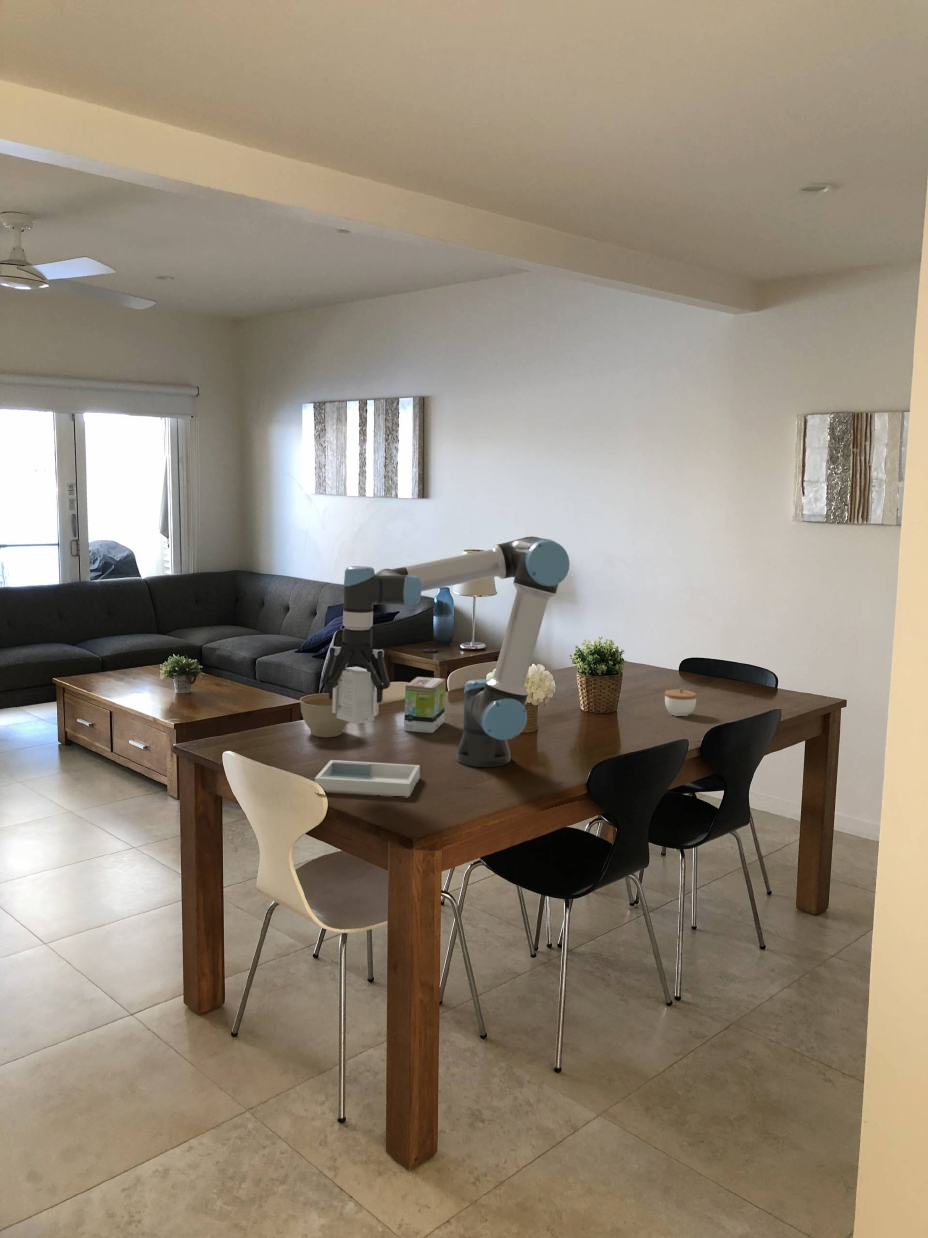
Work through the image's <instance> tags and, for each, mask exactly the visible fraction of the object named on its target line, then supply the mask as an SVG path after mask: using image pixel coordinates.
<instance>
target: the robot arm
mask: <svg viewBox="0 0 928 1238" xmlns="http://www.w3.org/2000/svg"><path fill="white" fill-rule="evenodd" d="M570 566H571V565H570V557H569V554H568V553H567V551H566V549H565V548H564V546H563V545H561V544H560V543H559V542H556V541H554V540H553V539H550V538H543V537H537V536H525V537H521V538H518V539H517V538H516V539H514V540H510V541H506V542H502V543H498V544H494V545H493V547H492V548H491V549H487V550H481V551H478V552H471V553H466V554H461V555H456V556H452V557H451V556H450V557H447V558H441V559H437V560H432V561H431V560H430V561H427V562H422V563H416V564H411V565H405V566H403V567H396V568H382V569H379V570H378V571H377V572H376V573H375V569H374V567H372V566H365V565H353V566H348V567H346V569H345V570H344V578H343V580H344V581H343V609H342V610H343V611H342V612H343V613H342V614H343V615H342V626H343V629H342V643H341V646H335V645H333V646H331V647H329V658H328V661H327V665H326V668H325V670H324V674H323V677H322V680H321V683H322V685H326V686H328V693H329V699H333V703H332V713H336V712H337V684H338V678H339V677H340V675H341V673H342V671H343V670H344V669H345V668H348V665H352V664H353V665H355V664H357V665H360V666H361V665H363V667H364V669H367V671H368V672H370V673H371V679H372V681H373V683H374V685H375V690H374V698H373V716H374V717H377V716H378V715H379V704H381V703H382V702H383V699H384V698H383V695H384V690H387V689H388V688H390V687H391V682H390V677H389V673H388V671H387V670H388V669H387V666H386V662H385V650H384V649H383V648H381V649H375V648H374V647H373V629H372V627H373V626H374V625H373V623H374V605H395V606H397V605H398V606H401V605H403V606H410V605H412V606H413V605H417V604H419V602H420V601H421V596H422V592H426V591H431V590H437V589H442V588H446V587H450V586H451V587H452V586H455V585H462V584H465V583H469V582H470V583H471V582H475V581H481V580H485V579H486V580H487V579H490V578H495V577H498V578H499V579H500V580H504V579H511V578H514V579H513V582H512V583H513V584H512V585H513V586H514V587H515V590H516V592H515V597H514V601H513V604H512V608H511V612H510V615H509V619H508V623H507V626H506V629H505V633H504V637H503V641H502V645H501V649H500V652H499V655H498V659H497V662H496V666H495V670H494V674H493V676H492V678H490V679H489V678H485V679H483V678H482V679H471V680H468V681H466V682H465V684H464V690H463V693H464V699H463V732H462V736H461V739H460V742H459V744H458V747H457V751H456V760H457V762H458V763H460V764H463V765H466V766H469V767H475V768H476V767H479V768H495V767H502V766H505V765H508V764H509V763H510V762H511V750H510V748H509V744H508V740H512V739H513V738H516V737H517V736H519V735H520V734H521V733H522V731H524V729H525V727H526V725H527V722H528V713H527V710H526V703H527V698H528V695H529V693H528V690H527V689H526V686H525V684H526V681H527V679H528V674H529V670H530V667H531V663H532V660H533V656H534V652H535V648H536V644H537V642H538V638H539V635H540V629H541V627H542V623H543V620H544V616H545V614H546V613H545V612H546V609H547V605H548V601H549V600H550V599H551V598H553V597H555V596H556V594H557V591H558V587H559V584H560V583H561V582H563V581H564V580H565V578H566V577H567V576H568V573H569V571H570ZM340 653H341V655H342V656H343V657H344V659H343V660H342V662H341V663H340V666H339V667H338V668H337V671H336V672H335V673H334V675H333V677H332V672H333V670H334V668H335V667H334V666H335V663H336V659H337V656H339V654H340ZM373 655H374V657H375V659H376V662H377V664H378V669H379V670H378V671H379V674H380V677H381V679H380V677H379V675H378V673H377V671H376V669H375V668H374V666H373V662H372V661H371V659H370V658H371V657H372V656H373ZM374 671H375V673H374ZM331 677H332V678H331Z"/></svg>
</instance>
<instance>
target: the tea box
mask: <svg viewBox="0 0 928 1238" xmlns="http://www.w3.org/2000/svg"><path fill="white" fill-rule="evenodd" d="M446 682H447V680H446V678H439V677H427V676H425V677H424V676H416V677H415V678H414V679H412V680H411V681H410V682H408V683H406V684H405V693H404V695H405V698H404V716H403V717H404V718H403V719H404V720H403V731H406V732H412V733H413V732H416V733H428V734H433V733H434V732H435V731H436V730H437V729H438V728H439V727H440V726H441V725H443V724H444V722H445V713H446V712H445V710H446V707H445V706H446V687H447V685H446Z"/></svg>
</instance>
